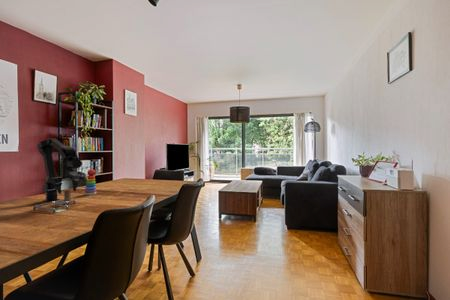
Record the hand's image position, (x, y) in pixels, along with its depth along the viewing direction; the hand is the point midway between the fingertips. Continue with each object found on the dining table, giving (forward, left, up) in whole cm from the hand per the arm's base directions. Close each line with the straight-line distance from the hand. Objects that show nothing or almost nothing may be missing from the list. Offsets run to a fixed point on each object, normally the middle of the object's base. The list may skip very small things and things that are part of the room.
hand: (67, 192), depth 148 cm
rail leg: (0, -7, -7) cm, 10 cm away
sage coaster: (+12, -13, -7) cm, 19 cm away
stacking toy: (-12, +26, -7) cm, 29 cm away
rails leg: (+5, -13, -7) cm, 16 cm away
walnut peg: (0, 0, -7) cm, 7 cm away
